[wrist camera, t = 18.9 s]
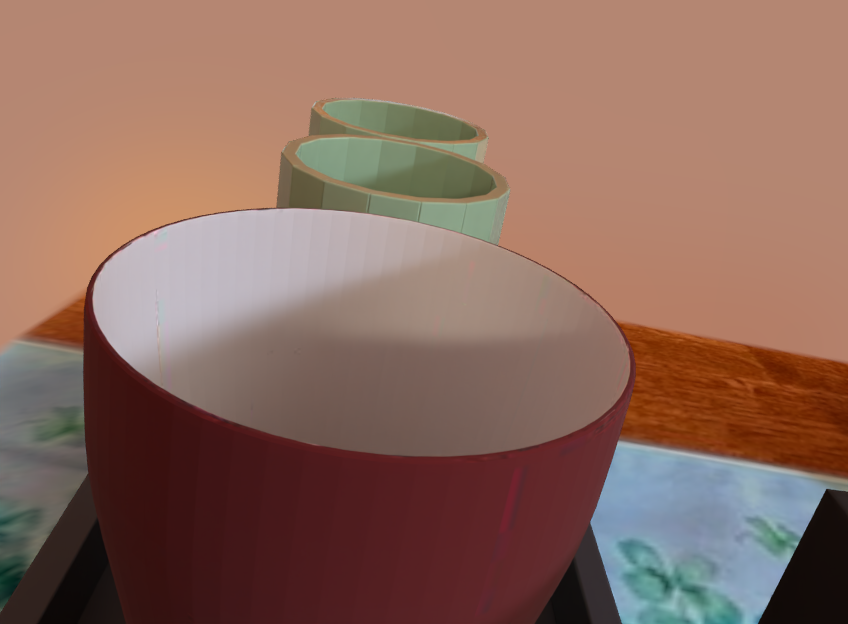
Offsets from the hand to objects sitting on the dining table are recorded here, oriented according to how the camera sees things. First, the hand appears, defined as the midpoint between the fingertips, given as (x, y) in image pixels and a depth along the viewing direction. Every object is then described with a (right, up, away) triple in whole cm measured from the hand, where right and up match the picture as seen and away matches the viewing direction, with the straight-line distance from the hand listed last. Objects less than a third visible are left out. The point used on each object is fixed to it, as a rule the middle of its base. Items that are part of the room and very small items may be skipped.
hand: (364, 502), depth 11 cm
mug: (-1, -6, +6) cm, 8 cm away
